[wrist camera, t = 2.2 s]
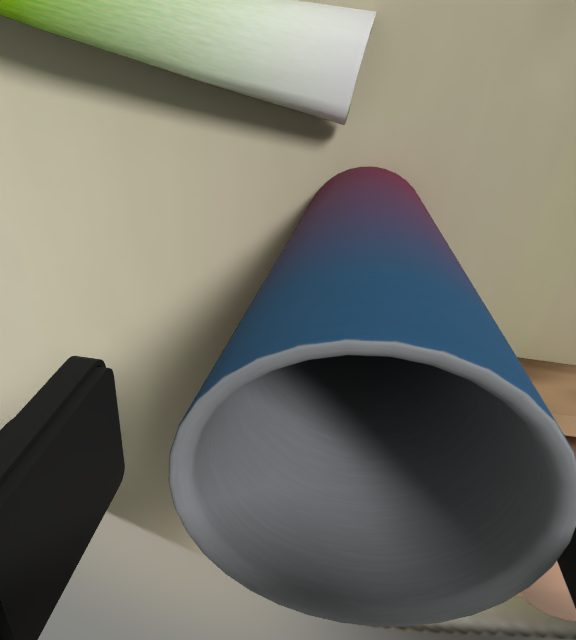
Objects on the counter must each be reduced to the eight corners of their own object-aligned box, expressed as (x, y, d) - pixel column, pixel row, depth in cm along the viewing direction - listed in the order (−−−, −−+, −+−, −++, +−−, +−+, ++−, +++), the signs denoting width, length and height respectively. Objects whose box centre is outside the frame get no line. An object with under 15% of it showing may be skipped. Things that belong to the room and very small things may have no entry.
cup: (371, 322, 24) (377, 665, 11) (256, 235, 22) (102, 506, 9) (482, 215, 20) (684, 517, 7) (356, 105, 19) (335, 242, 6)
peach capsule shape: (635, 436, 24) (710, 547, 18) (587, 518, 27) (640, 633, 22) (507, 417, 24) (545, 519, 19) (474, 500, 27) (500, 608, 22)
